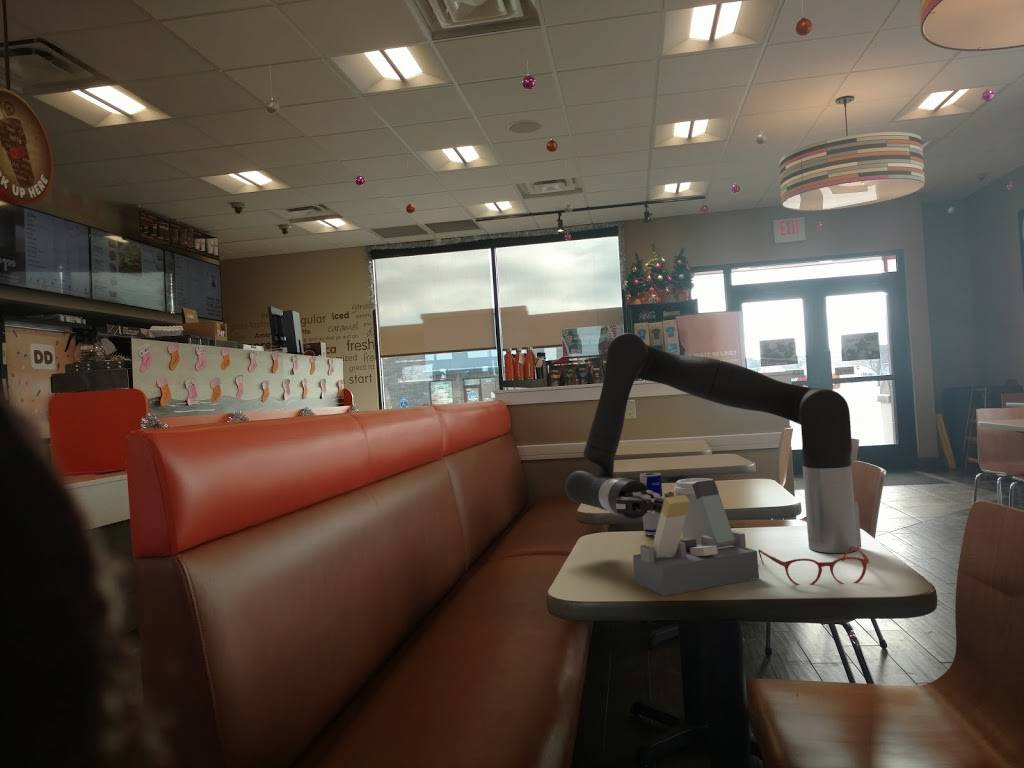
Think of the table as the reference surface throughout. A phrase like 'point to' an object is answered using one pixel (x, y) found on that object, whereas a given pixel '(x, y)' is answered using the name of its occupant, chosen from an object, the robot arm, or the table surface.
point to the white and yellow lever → (670, 526)
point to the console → (696, 566)
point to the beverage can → (656, 486)
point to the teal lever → (713, 513)
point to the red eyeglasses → (822, 564)
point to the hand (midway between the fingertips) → (670, 508)
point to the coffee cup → (692, 510)
